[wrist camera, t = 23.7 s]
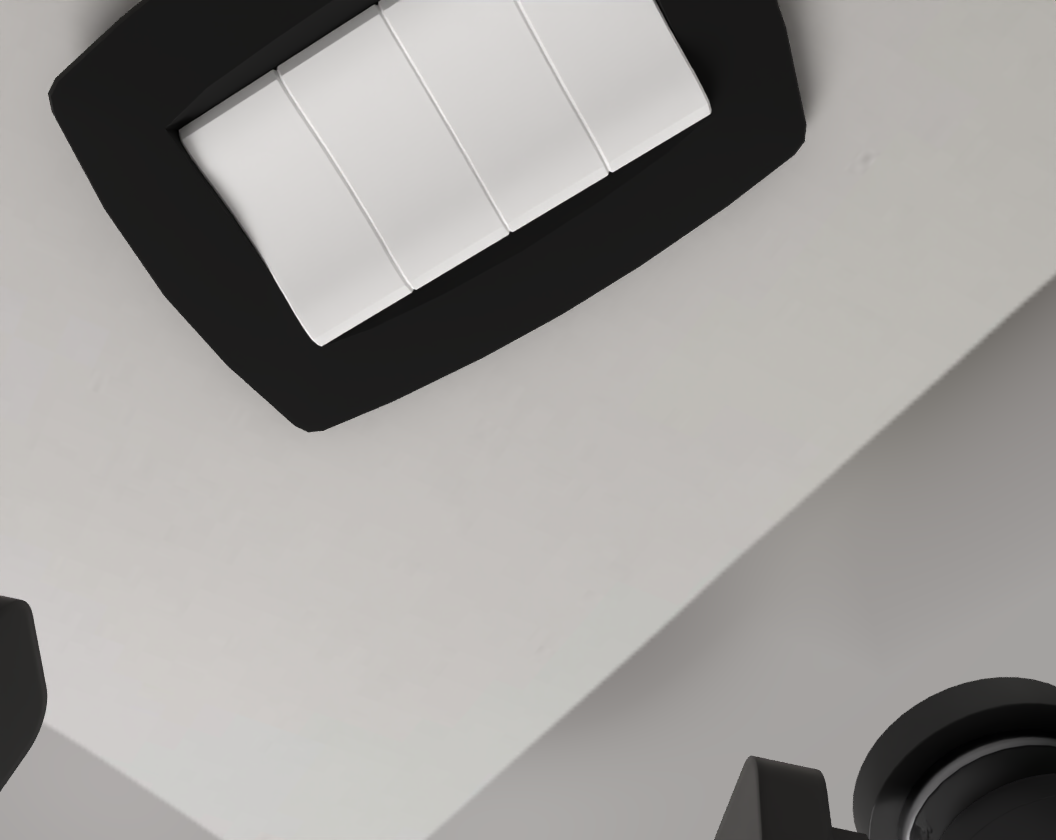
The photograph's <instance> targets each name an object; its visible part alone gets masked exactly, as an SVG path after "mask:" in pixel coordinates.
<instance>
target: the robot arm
mask: <svg viewBox="0 0 1056 840" xmlns="http://www.w3.org/2000/svg"><path fill="white" fill-rule="evenodd" d="M46 706H47V688H46V683H45V677H44V672H43V667H42V661H41V656H40V651H39V646H38V640H37V635H36V630H35V625H34V619H33V614H32V610H31V608H30V606H29V604H28V603H27V602H25V601H23V600H19V599H14V598H10V597H5V596H0V791H1V790H2V788H3V787H4V785H5V784H6V783H7V781H8V780H9V778H10V777H11V775H12V774H13V773H14V771H15V770H16V768H17V767H18V765H19V764H20V762H21V761H22V760H23V758H24V757H25V755H26V754H27V752H28V751H29V750H30V748H31V746H32V745H33V743H34V741H35V739H36V737H37V735H38V733H39V731H40V728H41V725H42V723H43V719H44V716H45V711H46ZM714 840H869V839H868V837H867V835H866V834H862V833H857V832H852V831H848V830H843V829H838V828H834V827H832V826H831V818H830V811H829V804H828V795H827V789H826V783H825V779H824V776H823V774H822V773H821V771H819V770H817V769H812V768H807V767H803V766H798V765H793V764H788V763H784V762H779V761H774V760H769V759H765V758H760V757H755V756H750V757H748V759H747V760H746V762H745V764H744V766H743V768H742V771H741V773H740V776H739V779H738V781H737V784H736V786H735V789H734V791H733V794H732V796H731V799H730V801H729V804H728V806H727V809H726V811H725V814H724V816H723V819H722V821H721V824H720V826H719V829H718V831H717V834H716V837H715V839H714ZM898 840H1056V733H1052V732H1048V731H1041V730H1030V729H1022V730H1009V731H1003V732H998V733H993V734H990V735H986V736H983V737H980V738H978V739H975V740H972V741H970V742H968V743H966V744H964V745H962V746H960V747H958V748H956V749H955V750H953V751H951V752H950V753H948V754H947V755H945V756H944V757H942V758H941V759H940V760H939V761H937V762H936V763H935V764H934V765H933V766H932V767H931V768H929V769H928V770H927V771H926V772H925V774H924V775H923V776H922V777H921V778H920V779H919V780H918V782H917V783H916V784H915V786H914V787H913V789H912V790H911V792H910V793H909V795H908V797H907V799H906V801H905V803H904V806H903V808H902V811H901V814H900V818H899V824H898Z"/></svg>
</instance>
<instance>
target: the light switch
mask: <svg viewBox="0 0 1056 840" xmlns="http://www.w3.org/2000/svg"><path fill="white" fill-rule="evenodd" d="M48 96H49V100H50V105H51V110H52V113H53V115H54V116H55V118H56V120H57V122H58V124H59V126H60V128H61V129H62V131H63V133H64V135H65V137H66V139H67V141H68V142H69V144H70V146H71V148H72V150H73V152H74V154H75V155H76V157H77V159H78V161H79V163H80V165H81V166H82V168H83V170H84V172H85V174H86V176H87V178H88V179H89V181H90V183H91V185H92V187H93V189H94V191H95V192H96V194H97V196H98V198H99V200H100V202H101V204H102V205H103V207H104V209H105V211H106V212H107V213H108V215H109V216H110V218H111V219H112V221H113V222H114V224H115V225H116V226H117V228H118V229H119V231H120V232H121V234H122V235H123V237H124V238H125V240H126V241H127V242H128V244H129V245H130V247H131V248H132V250H133V251H134V253H135V254H136V255H137V257H138V258H139V260H140V261H141V263H142V264H143V266H144V267H145V269H146V270H147V271H148V273H149V274H150V276H151V277H152V279H153V280H154V282H155V283H156V284H157V286H158V287H159V289H160V290H161V292H162V293H163V295H164V296H165V297H166V298H167V299H168V301H169V302H170V303H171V304H172V305H173V306H174V307H175V308H176V309H177V310H178V312H179V313H180V314H181V315H182V316H183V317H184V318H185V319H186V320H187V322H188V323H189V324H190V325H191V326H192V327H193V328H194V329H195V330H196V331H197V333H198V334H199V335H200V336H201V337H202V338H203V339H204V340H205V341H206V343H207V344H208V345H209V346H210V347H211V348H212V349H213V350H214V351H215V352H216V354H217V355H218V356H219V357H220V358H221V359H222V360H223V361H224V362H225V364H226V365H227V366H228V367H230V368H231V369H232V370H233V371H234V372H235V373H236V374H237V375H238V376H240V377H241V378H242V379H243V380H244V381H245V382H246V383H247V384H249V385H250V386H251V387H252V388H253V389H254V390H255V391H256V392H258V393H259V394H260V395H261V396H262V397H263V398H264V399H265V400H267V401H268V402H269V403H270V404H271V405H272V406H273V407H274V408H275V409H277V410H278V411H279V412H280V413H281V414H282V415H283V416H284V417H286V418H287V419H288V420H289V421H290V422H291V423H292V424H293V425H295V426H296V427H298V428H301V429H303V430H305V431H307V432H315V431H324V430H326V429H328V428H331V427H333V426H336V425H338V424H340V423H343V422H345V421H347V420H350V419H352V418H355V417H357V416H359V415H362V414H364V413H367V412H369V411H371V410H374V409H376V408H378V407H381V406H383V405H386V404H388V403H390V402H393V401H395V400H397V399H399V398H401V397H403V396H405V395H407V394H409V393H411V392H413V391H416V390H418V389H420V388H422V387H424V386H426V385H428V384H430V383H432V382H434V381H436V380H438V379H440V378H442V377H444V376H446V375H448V374H451V373H453V372H455V371H457V370H459V369H461V368H463V367H465V366H467V365H469V364H471V363H473V362H475V361H477V360H479V359H481V358H483V357H485V356H487V355H489V354H491V353H493V352H494V351H496V350H498V349H500V348H502V347H503V346H505V345H507V344H509V343H511V342H513V341H514V340H516V339H518V338H520V337H522V336H524V335H525V334H527V333H529V332H531V331H533V330H535V329H536V328H538V327H540V326H542V325H544V324H545V323H547V322H549V321H551V320H553V319H555V318H556V317H558V316H560V315H562V314H564V313H565V312H567V311H568V310H570V309H572V308H573V307H575V306H576V305H578V304H580V303H581V302H583V301H585V300H586V299H588V298H589V297H591V296H593V295H594V294H596V293H598V292H599V291H601V290H602V289H604V288H606V287H607V286H609V285H610V284H612V283H614V282H615V281H617V280H619V279H620V278H622V277H623V276H625V275H627V274H628V273H630V272H631V271H633V270H635V269H636V268H638V267H640V266H641V265H643V264H644V263H645V262H647V261H648V260H650V259H651V258H653V257H654V256H656V255H657V254H659V253H660V252H661V251H663V250H664V249H666V248H667V247H669V246H670V245H672V244H673V243H675V242H676V241H678V240H679V239H680V238H682V237H683V236H685V235H686V234H688V233H689V232H691V231H692V230H694V229H695V228H696V227H698V226H699V225H701V224H702V223H704V222H705V221H707V220H708V219H710V218H711V217H713V216H714V215H715V214H717V213H718V212H720V211H721V210H723V209H724V208H726V207H727V206H728V205H730V204H731V203H732V202H734V201H735V200H736V199H738V198H739V197H740V196H741V195H743V194H744V193H745V192H747V191H748V190H749V189H751V188H752V187H753V186H755V185H756V184H757V183H758V182H760V181H761V180H762V179H764V178H765V177H766V176H768V175H769V174H770V173H771V172H773V171H774V170H775V169H777V168H778V167H779V166H781V165H782V164H783V163H784V162H786V161H787V160H788V159H790V158H791V157H792V156H794V155H795V154H796V152H797V151H798V150H799V148H800V147H801V146H802V144H803V143H804V142H805V133H806V121H805V116H804V112H803V107H802V102H801V97H800V92H799V88H798V83H797V78H796V73H795V68H794V64H793V59H792V54H791V49H790V44H789V40H788V35H787V30H786V26H785V23H784V20H783V17H782V14H781V11H780V8H779V5H778V2H777V0H142V1H141V2H139V3H138V4H137V5H136V6H134V7H133V8H132V9H131V10H130V11H128V12H127V13H126V14H125V15H123V16H122V17H121V18H120V19H119V20H118V21H117V22H115V23H114V24H113V25H112V26H111V27H110V28H109V29H108V30H107V31H106V32H105V33H104V34H103V35H101V36H100V37H99V38H98V39H97V40H96V41H95V42H94V43H93V44H92V45H91V46H90V47H89V48H87V49H86V50H85V51H84V52H83V53H82V54H81V55H80V56H79V57H78V58H77V59H76V60H75V61H73V62H72V63H71V64H70V65H69V66H68V67H67V68H66V69H65V70H64V71H63V72H62V73H60V74H59V75H58V76H57V77H56V78H55V80H54V82H53V84H52V86H51V88H50V90H49V92H48Z"/></svg>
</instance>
